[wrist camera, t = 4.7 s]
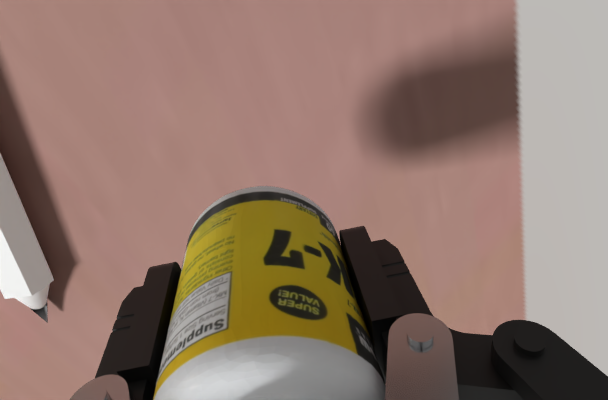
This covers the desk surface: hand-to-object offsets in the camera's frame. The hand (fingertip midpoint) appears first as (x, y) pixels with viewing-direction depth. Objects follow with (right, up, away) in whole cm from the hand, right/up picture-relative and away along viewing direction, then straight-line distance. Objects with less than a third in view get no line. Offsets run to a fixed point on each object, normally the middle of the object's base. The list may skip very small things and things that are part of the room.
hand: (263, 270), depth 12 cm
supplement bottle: (0, +1, +1) cm, 1 cm away
